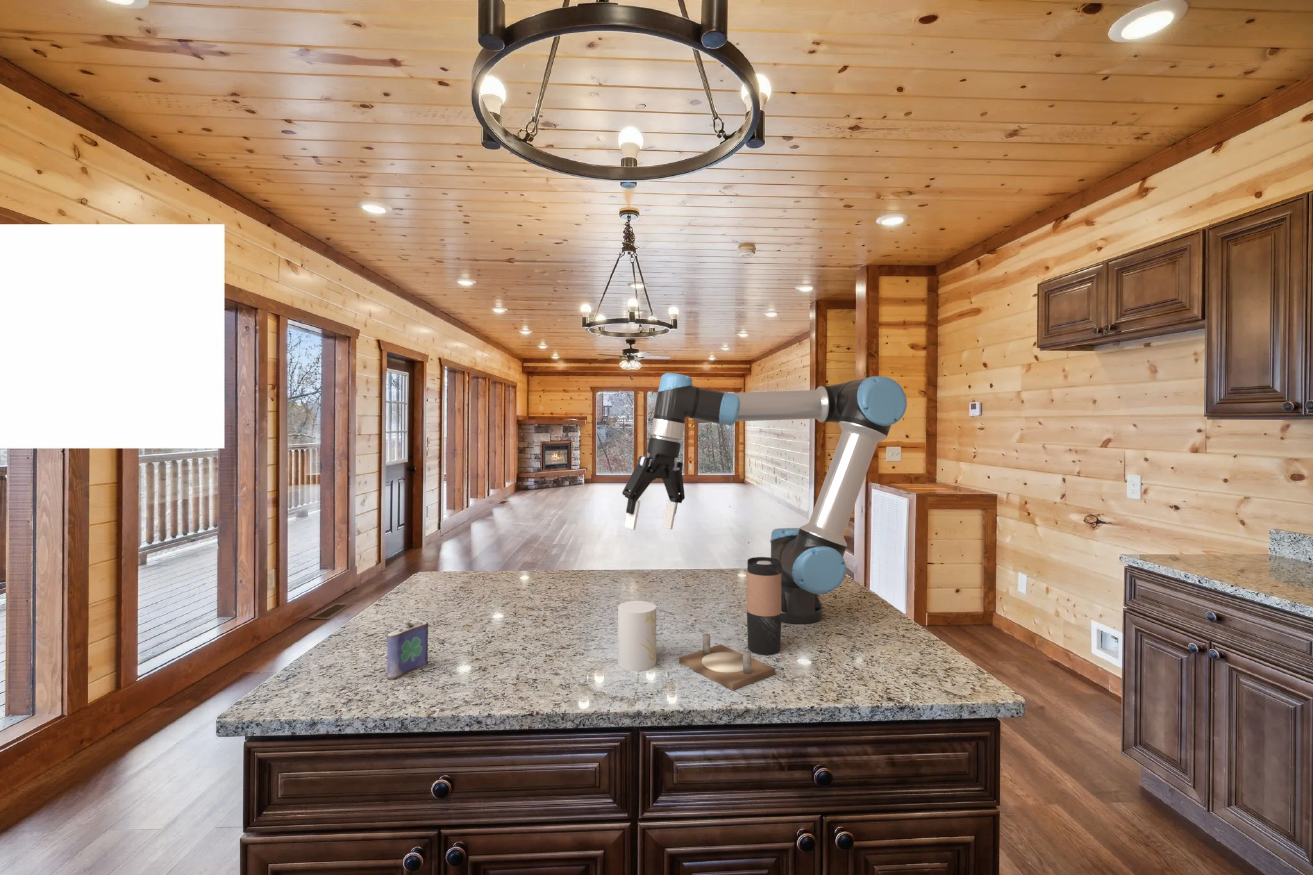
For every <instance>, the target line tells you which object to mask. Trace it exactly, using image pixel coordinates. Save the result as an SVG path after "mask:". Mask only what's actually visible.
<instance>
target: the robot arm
mask: <svg viewBox="0 0 1313 875" xmlns="http://www.w3.org/2000/svg"><path fill="white" fill-rule="evenodd" d="M693 384H694V383H693V378H692V377H690V376H689V375H684V374H682V373H675V372H665V373H663V374H662V375H661V377H660V381H659V385H658V390H657V394H656V401H655V407H654V412H653V419H652V425H651V428H650V435H651V436H652V437H650V438H649V439H648V444H647V450H646V451H647V454H648V455H649V456H648V457H647V456H643V455H640V456H639V457H638V459H637V463H636V466H635V467H634V470H633V471H632V474H631V476H630V477H629V479H628V481H627V482H626V484H625V486H624V488H623V490H622V493H621V494H622V496H624V497H625V498H626V499H627V503H626V509H625V510H626V515H625V516H626V517H625V521H624V527H625V528H627V529H631V530H636V527H637V520H638V517H639V512H640V506H641V500H639V499H640V498H641V496H642V495H643V493H645V491H646V490H647V489H648V487H649V486H650V484H651V483H652V482H653V481H654V480H656V479H658V480H660V479H661V480H662V481H663V484H664V487H665V491H666V493H667V496H668V499H669V500H666V503H665V506H664V507H665V508H664V513H663V519H662V523H661V524H662V525H661V527H663V528H666V529H669V530H673V526H674V522H675V516H676V514H677V510H678V509H677V508H678V504H682V502H683V501H685V498H686V495H685V487H684V478H683V467H684V466H683V465H684V464H683V462H682V461H677V460H675V459H677V458H679V455H680V450H681V446H682V445H681V443H680V441H682V440H683V436H684V428H685V423H686V419H687V418H688V419H692V420H693V421H694V422H696V423H698V424H707V423H708V424H710V423H713V424H714V423H715V424H719V425H721V426H722V425H724V426H725V425H726V426H732V425H734V424H735V423H736V422H760V421H785V420H787V421H789V420H790V421H791V420H813V419H815V420H817V421H818V423H837V424H838V425H839V427H840V429H841V434H840V437H839V440H838V442H837V445H836V448H835V449H834V450H835V451H834V453H833V456H832V459H831V461H830V463H829V466H828V470H827V472H826V475H825V478H824V481H823V483H822V486H821V489H820V491H819V494H818V496H817V500H816V502H815V505H814V508H813V510H812V513H811V515H810V518H809V521H808V522H807V523H805V524H804V525H801V526H800V527H783V528H782V527H781V528H774V529H772V531H771V534H770V541H769V542H770V558H775V559H778V560H780V561H781V623H785V624H786V623H788V624H811V623H816V622H819V621H820V620H822V618H823V606H822V603H821V600H820V597H819V595H827V594H829V593H831V592H833V591H835V590H836V589H838V588H839V587H840V586H841V584H842V583H843V581H844V579H845V576H846V574H847V573H846V572H847V565H846V561H845V559H844V555H845V552H846V549H847V548H848V544H847V542H846V539H845V534H846V531H847V528H848V525H849V522H850V519H851V517H852V514H853V511H854V508H855V505H856V503H857V501H858V497H859V494H860V492H861V488H863V487H862V486H863V484H864V481H865V480H866V479H865V478H866V476H867V472H868V470H869V468H870V464H871V462H872V458H873V456H874V453H875V451H876V449H877V446H878V444H879V443H880V442H882V441H884V440H887V437H888V435H889V434H890V433H889V432H890V429H891V428H892V426H893V425H895V424H896V423H898V422H899V421H900V420H902V418H903V417H904V415H905V414H906V410H907V407H908V406H907V405H908V400H907V396H906V393H905V391H904V389H903V387H902V386H901V384H900V383H899V382H898V381H896V380H894V379H893V378H891V377H887V376H878V375H873V376H869V377H866V378H860V379H855V380H854V379H853V380H850V381H846V382H843V383H842V382H841V383H837V384H832V385H820V386H818V387H817V388H816V389H807V390H806V389H805V390H783V391H782V390H780V391H779V390H778V391H777V390H776V391H750V392H748V391H747V392H745V391H744V392H727V391H725V392H724V391H720V390H714V389H707V388H701V387H698V386H695V385H693ZM624 527H623V528H624Z"/></svg>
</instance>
